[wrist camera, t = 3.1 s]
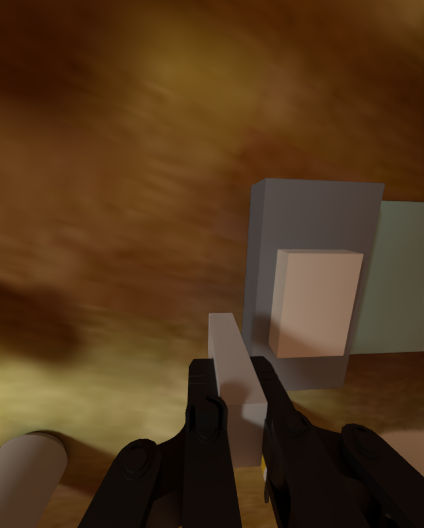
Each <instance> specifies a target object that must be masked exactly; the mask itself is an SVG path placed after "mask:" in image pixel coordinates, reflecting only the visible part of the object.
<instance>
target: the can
mask: <svg viewBox="0 0 424 528" xmlns="http://www.w3.org/2000/svg"><path fill="white" fill-rule="evenodd" d="M67 463H68V459H67V454H66V452H65V447H64V446H63V444H62V442H61V441H60V440H58V439H57V438H56V437H54V436H52V435H50V434H46V433H41V432H34V433H28V434H25V435H22V436H19V437H15V438H12V439H11V440H9V441H8V442H6V443H5V444H4V445H3V446H2V447H1V448H0V528H36V526H37V524H38V523H39V521H40V519H41V517H42V515H43V513H44V511H45V509H46V507H47V505H48V503H49V501H50V499H51V497H52V495H53V493H54V491H55V489H56V487H57V485H58V483H59V481H60V479H61V477H62V475H63V473H64V471H65V469H66V466H67Z"/></svg>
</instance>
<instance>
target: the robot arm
mask: <svg viewBox="0 0 424 528" xmlns="http://www.w3.org/2000/svg"><path fill="white" fill-rule="evenodd" d="M208 354H209V359H193V361H192V362H191V364H190V366H189V378H188V403H187V408H186V412H185V416H186V422H185V425H184V427H183V428H182V430H181V431H180V432H179V433H178V434H177V435H176V436H175V437H173V438H171V439H170V440H168V441H165V442H163V443H161V444H158V445H157V444H156V443H155V442H154V441H151V440H149V439H138V440H135V441H133V442H130V443H129V444H128V445H127V446H125V447H124V448H123V449H122V450H121V451H120V452H119V454H118V455H117V456H116V458H115V459H114V461H113V463H112V465H111V467H110V468H109V470H108V472H107V474H106V476H105V478H104V480H103V481H102V483H101V485H100V487H99V489H98V491H97V492H96V494H95V496H94V498H93V500H92V502H91V503H90V505H89V507H88V509H87V511H86V513H85V515H84V516H83V518H82V520H81V522H80V524H79V526H78V527H77V528H179V527H180V526H182V528H242V524H241V517H240V511H239V504H238V498H237V491H236V485H235V478H234V472H233V468H235V467H248V466H260V465H261V463H262V454H263V458H264V461H265V465H266V468H267V472H266V482H265V491H264V497H265V503H268V502H269V496H270V500H271V504H272V507H273V511H274V515H275V519H276V522H277V526H278V528H424V477H423V476H422V475H421V474H420V473H419V472H418V471H417V470H416V469H415V468H413V467H412V466H411V465H410V464H409V463H408V462H407V461H406V460H405V459H404V458H403V457H402V456H400V455H399V454H398V453H397V452H396V451H395V450H394V449H393V448H392V447H391V446H390V445H389V444H388V443H387V442H385V441H384V440H383V439H382V438H381V437H380V436H378V435H377V434H376V433H375V432H373V431H372V430H370V429H368V428H366V427H364V426H362V425H358V424H354V423H353V424H346V425H345V426H344V427H343V428H342V431H341V433H337V432H333V431H329V430H325V429H321V428H319V427H316V426H314V425H312V424H311V422H310V421H309V420H308V419H307V417H305V416H304V415H303V414H302V413H300V412H299V411H296V409H295V408H294V406H293V404H292V402H291V400H290V398H289V396H288V394H287V393H286V391H285V389H284V387H283V385H282V383H281V381H280V380H279V377H278V375H277V374H276V373H275V370H274V368H273V366H272V364H271V363H270V362H269V361H268V360H267V359H266V358H265V357H264V356H249V355H248V352H247V350H246V347H245V345H244V342H243V339H242V337H241V334H240V332H239V329H238V327H237V324H236V322H235V319H234V317H233V314H232V313H209V337H208Z"/></svg>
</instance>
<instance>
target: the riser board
mask: <svg viewBox="0 0 424 528" xmlns="http://www.w3.org/2000/svg"><path fill="white" fill-rule="evenodd" d="M384 186H385V183H366V182H343V181H320V180H297V179H274V178H265V179H264V180H262V181H260V182H258V183H256V184H254V185H252V187H251V202H250V218H249V233H248V249H247V264H246V279H245V295H244V310H243V326H242V339H243V342H244V345H245V347H246V350H247V352H248V355H249V356H264V357H265V358H266V359H267V360H268V361H269V362H270V363H271V364H272V366H273V368H274V370H275V373H276V374H277V375H278V377H279V380H280V381H281V383H282V385H283V387H284V389H285V391H292V390H309V389H326V388H343V384H344V380H345V375H346V370H347V365H348V360H349V355H350V351H351V346H352V341H353V336H354V331H355V326H356V322H357V317H358V312H359V307H360V302H361V297H362V293H363V288H364V283H365V278H366V273H367V269H368V264H369V259H370V254H371V249H372V244H373V240H374V235H375V230H376V225H377V220H378V215H379V211H380V206H381V201H382V196H383V191H384ZM278 249H318V250H348V251H352V252H357V253H361V254H363V259H362V264H361V269H360V274H359V279H358V284H357V289H356V294H355V299H354V304H353V309H352V314H351V320H350V325H349V330H348V335H347V340H346V345H345V350H344V355H343V356H319V357H295V358H276V356H275V354H274V352H273V351H272V349H271V347H270V346H269V344H268V343H269V333H270V323H271V313H272V303H273V293H274V283H275V273H276V263H277V253H278Z"/></svg>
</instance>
